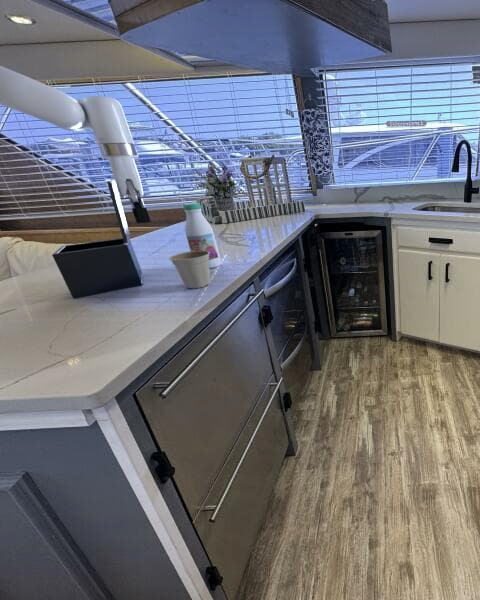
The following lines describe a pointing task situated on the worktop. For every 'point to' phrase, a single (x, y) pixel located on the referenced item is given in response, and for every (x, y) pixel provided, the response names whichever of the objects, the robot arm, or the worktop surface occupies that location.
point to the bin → (98, 267)
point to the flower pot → (193, 268)
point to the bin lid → (119, 210)
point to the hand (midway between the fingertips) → (144, 222)
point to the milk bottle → (200, 234)
